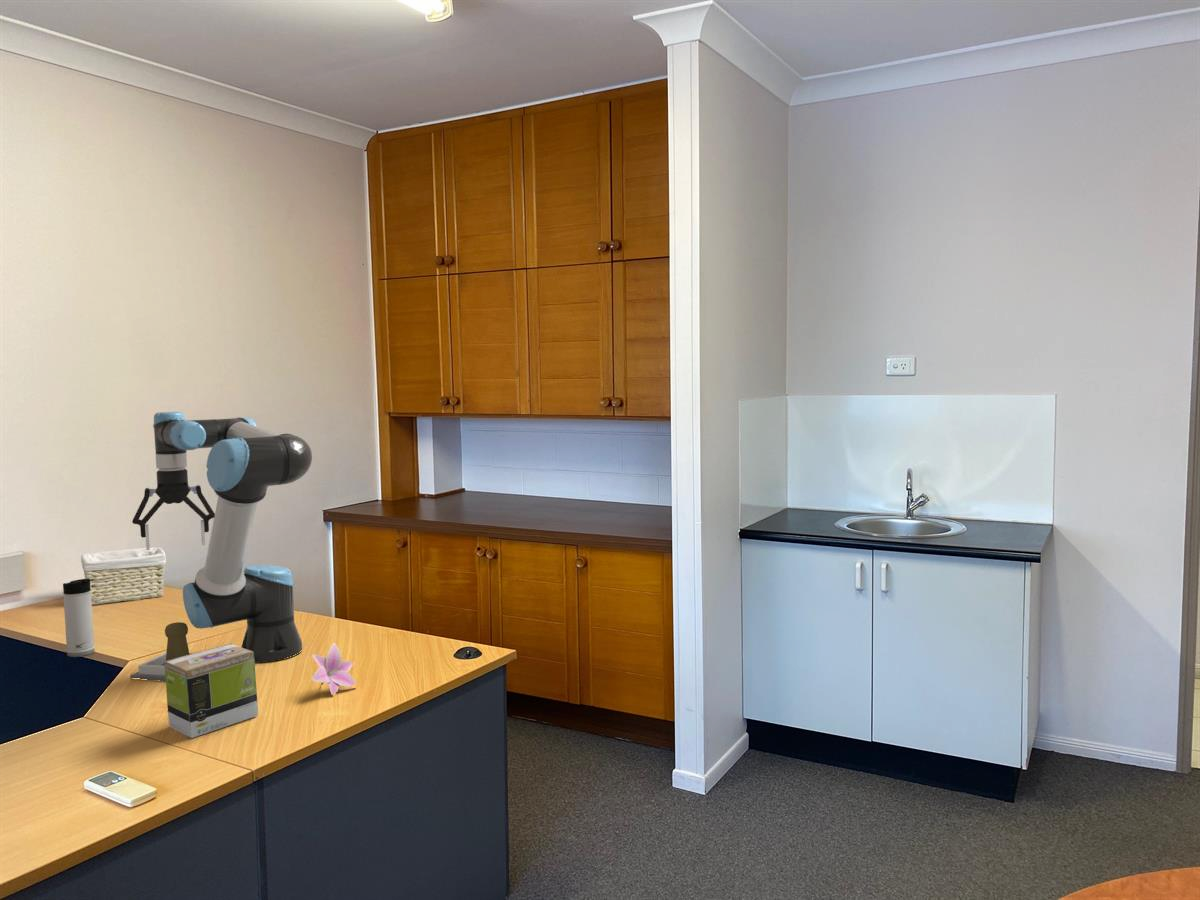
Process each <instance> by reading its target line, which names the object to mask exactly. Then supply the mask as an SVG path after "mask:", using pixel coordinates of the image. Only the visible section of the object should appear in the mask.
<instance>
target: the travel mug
mask: <svg viewBox="0 0 1200 900" xmlns="http://www.w3.org/2000/svg"><path fill="white" fill-rule="evenodd" d="M62 588H63V589H62V590H63V607H64V608H63V611H64V623H65V624H64V625H65V637H66V638H65V639H66V655H67V656H68V657H72V658H78V657H79V658H80V657H85V656H89V655H91V654H93V653H94V652H95V650H96V649H95V633H94V619H93V618H94V617H93V605H92V600H91V588H90V579H85V578H81V579H74V580H70V582H64V583H62Z"/></svg>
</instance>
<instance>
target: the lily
mask: <svg viewBox="0 0 1200 900" xmlns="http://www.w3.org/2000/svg"><path fill="white" fill-rule="evenodd" d="M311 656H312V657H313V660H315V662H316V664H317V665H318V669H317V670H316V672H314V674H313V675H312V677H311V679H310V680H311V681H312V682H314V683H316V682H317V683H321V684H320V686H321V685H322V686H323V685H324V683H327V685H328V688H329V691H330V693H331V695H332V694H334V693H335V692H337V693H338V690H339V687H340V685H341V686H343V687H347V688H350V686H352V685H354V684H356V685H357V683H356V680H355V679H354V677H353V676H352V675H351V674H350V673H349V671H350V670H351V668H352V667H353V665H354V662H353V661H348V660H342V654H341V652H340V649H339V648H338V646H337V644H336V643H335V642H334V643H332V644H331V646H330V649H329V650H328V653H327V655H326V657H325V656H322V655H319V654H316V653H313V654H311Z"/></svg>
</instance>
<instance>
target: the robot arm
mask: <svg viewBox="0 0 1200 900" xmlns="http://www.w3.org/2000/svg"><path fill="white" fill-rule="evenodd" d="M152 427H153V432H154V433H153V434H154V449H155V468H156V469H157V471H156V485H157V487H156V488H149V487H145V488H144V493H143V495H144V496H143V498H142V500H141V503H140V504H139V506H138V509H137V510H136V512H135V514H134V517H133V518H132V521H131V522H132V524H133V525H138V526H139V528H140V530H139V531H140V537H141V538H145V546H146V547H145V548H146V550H150V548H151V547H150V531H149V529H150V528H149V524H148V522H149V520H150V519H151V518H152V517H153V516H154V514H155V513H156V512H157V511H158V509H159V508H160V507H161V506H162V505H163V504H167V505H171V504H181V503H183V502H184V503H185V504H186V505H187V506H188V507H189V508H191V509H192V510H193V511H194V512H195V513H196V514H197V515H198V516H199V517H200V518H201V520H200V535H201V546H206V536H205V533H209V531H210V528H209V527H210V526H209V525H210V524H209V522H210V520H211V519H212V520H213V522H212V527H211V532H210V537H209V540H208V541H209V542H208V547H207V553H206V557H205V561H204V562H205V563H204V566H203V567H201V568H200V569H198V571H197V572H196V574H195V577H194V578H195V579H194V582H188V583H186V584H185V585H183V587H182V600H183V605H184V610H185V613H186V616H187V618H188V620H189V622H190V624H191V625H192V626H193V627H195V628H196V629H199V630H201V629H209V628H211V629H212V628H213V627H219V626H223V625H229V624H233V623H238V622H241V621H246V630H245V633H244V637H243V639H242V642H241V643H242V644H241V646H240V647H241V648H244V649H247V650H250V651H253V652H254V660H255V663H256V662H257V663H266V662H268V661H270V662H274V661H273V660H278V661H280V660H279V659H283V660H285V659H284V658H287V657H290V656H293V655H295V654H297V653H299V652H300V651H301V650H302V651H303V641H302V638H301V636H300V633H299V631H298V628H297V626H296V623H295V609H294V608H295V607H294V580H293V574H292V571H291V569H289V568H288V567H285V566H281V565H274V564H273V565H271V564H257V565H256V564H254V565H249V566H246V567H245V568H244V570H243V567H244V563H245V558H246V553H247V549H248V545H249V541H250V536H251V531H252V526H253V523H254V519H255V512H256V510H257V504H258V503H260V502H261V501H263V500H264V498H265V497H266V495H267V490H268V488H269V487H270V486H271V487H274V486H281V485H288V484H291V483H294V482H296V481H298V480H299V479H301V478H303V476H305V474H306V473H308V471H309V469H310V467H311V464H312V460H313V455H312V454H313V453H312V450H311V447H310V445H309V444H308V443H307V441H306V440H305V439H303V438H302V437H299V436H298V435H295V434H292V433H276V432H274V431H271V430H267V429H265V428H262V427H260V426H257V423H256V422H255V420H254V419H252V418H250V417H234V418H233V417H232V418H231V417H230V418H218V419H191V420H190V419H189V420H186V419H185V413H183V412H181V411H160V412H156V413H155V414H153V425H152ZM208 448H210V450H209V453H208V456H207V460H206V468H207V470H206V478H207V482H208V484H209V486H210V487H211V489H213V492H214V493H215V495H216V496H217V502H216V506H215V512H214V510H213V508H212V507H211V505H210V504H209V502H208V501H207V499H206V497H205V496H204V494H203V493H202V488H201V485H200V484H196V485H193V486H190V485H189V478H188V475H189V474H188V469H187V467H188V460H187V459H188V458H187V456H188V455H187V451H194V450H197V449H208ZM190 492H193V494H195V495H197V497H198V499H199V500H200V502H201V503H202V505H203V507H204V508H205V510H206V511H207V513H208V514H206V513H205V512H204V511H203V510H202V509H200V507H199V506H197V505H196V503H194V502H193V501H192V500H191V499H190V498H189V497H188V495H190V494H189V493H190ZM154 494H156V496H158V497H159V499H158V500H156V502H155V504H153V506H152V507H151V508H150V510H149V511H148V512H147V513H146V515H144V517H143V518H142V519H140V518H141V516H142V513H143V512H144V510H145V507H147V504H148V502H149V499H150V498H151V497H153V496H154ZM242 571H243V572H242ZM302 651H301V652H302ZM301 652H300V653H301ZM300 653H299V654H300ZM297 655H298V654H297ZM295 656H296V655H295ZM293 657H294V656H293ZM290 658H291V657H290ZM287 659H288V658H287Z"/></svg>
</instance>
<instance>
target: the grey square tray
mask: <svg viewBox="0 0 1200 900" xmlns="http://www.w3.org/2000/svg"><path fill="white" fill-rule="evenodd" d="M189 654H193V653H190V652H189ZM165 661H166V652H163V653H162V654H160V655H158V656H155V657H153V658H151V659H149V660H148V661H145V662H143V663H141V664H139V665H138V666H137V667H138V671H137V672H134V673H132V674H131V675H130V679H131V678H140V679H147V680H146V681H150V680H160V681H159V682H166V678H165Z"/></svg>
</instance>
